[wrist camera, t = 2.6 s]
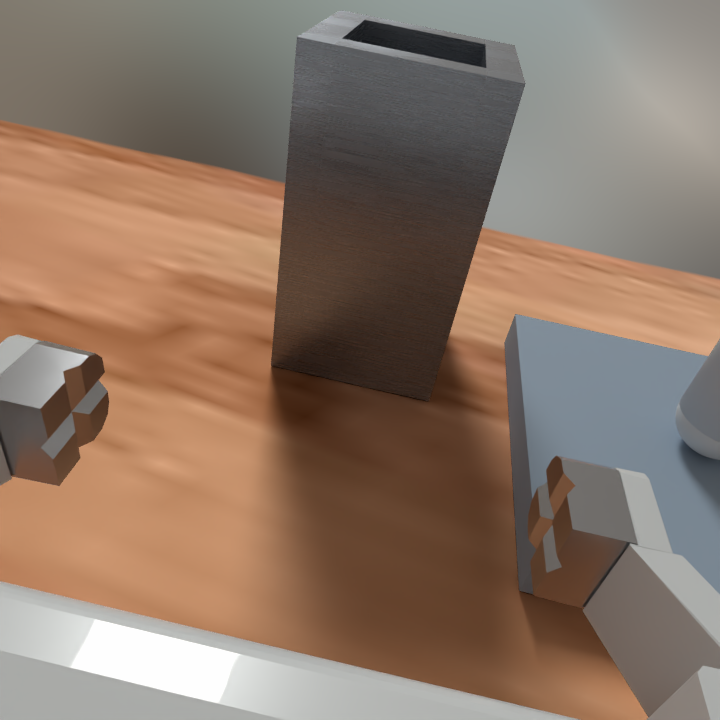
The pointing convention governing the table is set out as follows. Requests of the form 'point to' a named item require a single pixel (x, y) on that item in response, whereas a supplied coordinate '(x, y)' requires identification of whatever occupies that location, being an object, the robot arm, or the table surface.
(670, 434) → the shaft base
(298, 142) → the steel collar
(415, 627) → the table surface
